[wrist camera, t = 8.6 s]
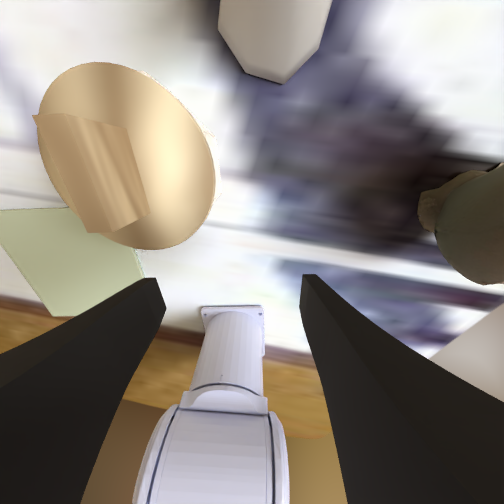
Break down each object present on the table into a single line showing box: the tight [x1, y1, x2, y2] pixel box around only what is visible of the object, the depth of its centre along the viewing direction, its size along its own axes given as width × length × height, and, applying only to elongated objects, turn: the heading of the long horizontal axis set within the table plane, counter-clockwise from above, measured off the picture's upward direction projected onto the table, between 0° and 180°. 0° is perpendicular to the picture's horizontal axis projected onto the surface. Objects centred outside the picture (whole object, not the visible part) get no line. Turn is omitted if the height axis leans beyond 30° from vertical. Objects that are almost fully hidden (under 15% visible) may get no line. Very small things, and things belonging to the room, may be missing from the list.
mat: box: [0, 207, 145, 316], centre depth 21 cm, size 14×14×1 cm
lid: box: [32, 62, 216, 250], centre depth 11 cm, size 11×11×5 cm
